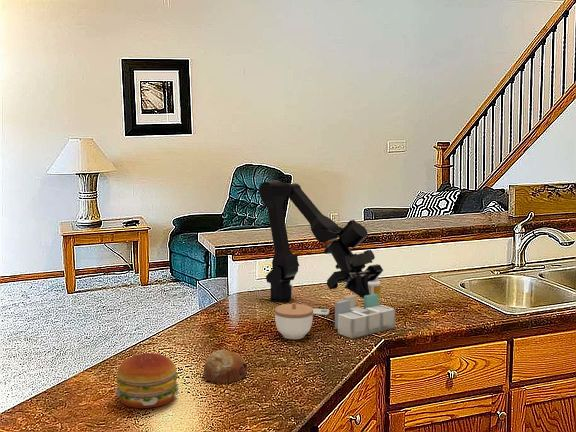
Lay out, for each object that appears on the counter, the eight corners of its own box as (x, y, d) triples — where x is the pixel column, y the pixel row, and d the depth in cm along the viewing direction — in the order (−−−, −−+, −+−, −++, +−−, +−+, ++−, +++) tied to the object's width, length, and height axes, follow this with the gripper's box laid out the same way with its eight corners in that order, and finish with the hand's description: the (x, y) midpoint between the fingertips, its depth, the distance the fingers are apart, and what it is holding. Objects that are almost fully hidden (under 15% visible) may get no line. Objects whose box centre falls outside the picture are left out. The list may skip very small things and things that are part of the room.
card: (302, 313, 218) (302, 312, 218) (304, 309, 223) (304, 307, 223) (328, 315, 217) (328, 313, 217) (329, 310, 222) (329, 308, 222)
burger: (111, 414, 146) (110, 368, 144) (119, 389, 159) (117, 346, 158) (178, 411, 147) (177, 365, 146) (179, 386, 161) (178, 344, 159)
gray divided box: (337, 333, 199) (338, 314, 199) (380, 322, 210) (380, 304, 209) (352, 338, 195) (352, 319, 194) (395, 327, 205) (395, 309, 204)
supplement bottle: (379, 301, 233) (380, 272, 231) (380, 305, 228) (381, 276, 226) (363, 300, 233) (363, 272, 232) (363, 305, 228) (364, 275, 227)
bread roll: (211, 382, 173) (197, 354, 171) (249, 364, 173) (235, 336, 171) (211, 398, 163) (195, 369, 161) (251, 379, 163) (236, 349, 162)
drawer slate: (334, 327, 201) (335, 302, 200) (346, 324, 204) (346, 299, 203) (350, 333, 196) (351, 307, 195) (362, 330, 199) (363, 304, 197)
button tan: (342, 321, 207) (342, 296, 206) (353, 319, 210) (353, 294, 209) (358, 327, 202) (358, 301, 201) (369, 324, 204) (370, 299, 203)
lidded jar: (317, 332, 200) (318, 300, 199) (306, 344, 190) (306, 310, 189) (282, 328, 204) (282, 296, 202) (268, 339, 194) (269, 306, 192)
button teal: (363, 320, 208) (363, 295, 207) (374, 318, 211) (374, 293, 210) (379, 326, 203) (380, 300, 202) (390, 323, 205) (391, 298, 204)
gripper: (333, 245, 205) (359, 289, 198) (379, 238, 216) (405, 280, 209) (315, 267, 212) (340, 310, 205) (361, 259, 223) (385, 300, 216)
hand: (368, 300), depth 209 cm, fingers closed, pressing on button teal
